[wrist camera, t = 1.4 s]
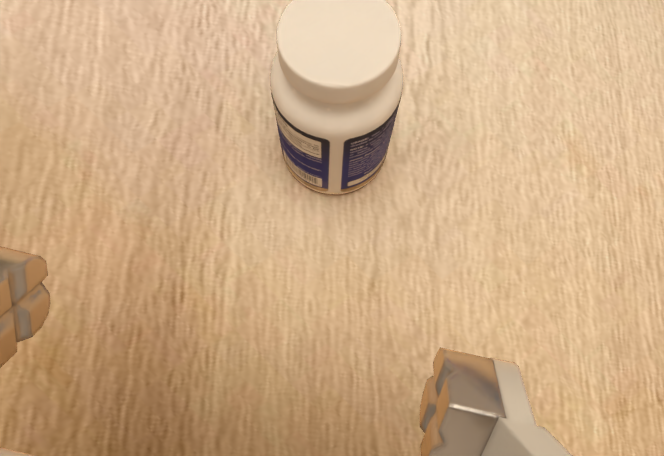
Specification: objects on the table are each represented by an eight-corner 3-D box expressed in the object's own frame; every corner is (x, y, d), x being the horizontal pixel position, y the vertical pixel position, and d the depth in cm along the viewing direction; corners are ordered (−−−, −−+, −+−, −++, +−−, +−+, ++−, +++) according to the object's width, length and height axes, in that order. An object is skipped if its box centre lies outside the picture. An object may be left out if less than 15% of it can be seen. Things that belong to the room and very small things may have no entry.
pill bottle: (379, 100, 30) (408, -35, 20) (390, 194, 28) (427, 95, 18) (279, 106, 29) (259, -28, 20) (284, 200, 28) (264, 105, 18)
